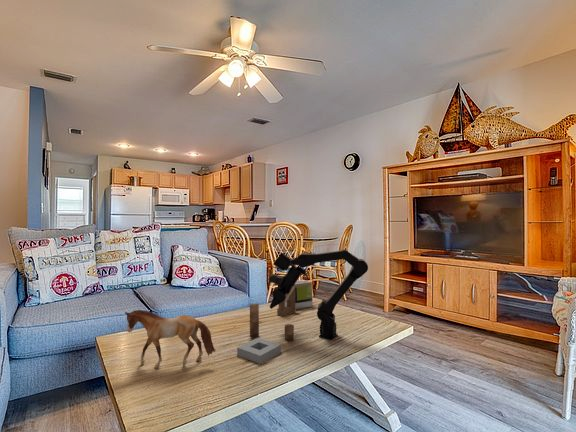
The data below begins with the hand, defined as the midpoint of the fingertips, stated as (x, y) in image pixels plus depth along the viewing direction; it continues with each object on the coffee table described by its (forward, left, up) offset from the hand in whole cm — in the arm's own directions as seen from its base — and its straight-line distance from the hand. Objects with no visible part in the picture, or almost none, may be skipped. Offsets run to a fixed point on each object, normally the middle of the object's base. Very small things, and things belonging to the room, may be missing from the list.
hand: (272, 305), depth 139 cm
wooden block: (+13, -27, -13) cm, 32 cm away
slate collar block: (-9, +19, -13) cm, 25 cm away
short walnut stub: (-10, +1, -13) cm, 17 cm away
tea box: (+16, -42, -13) cm, 46 cm away
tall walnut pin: (+5, +7, -13) cm, 16 cm away
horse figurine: (+8, +46, -13) cm, 49 cm away
